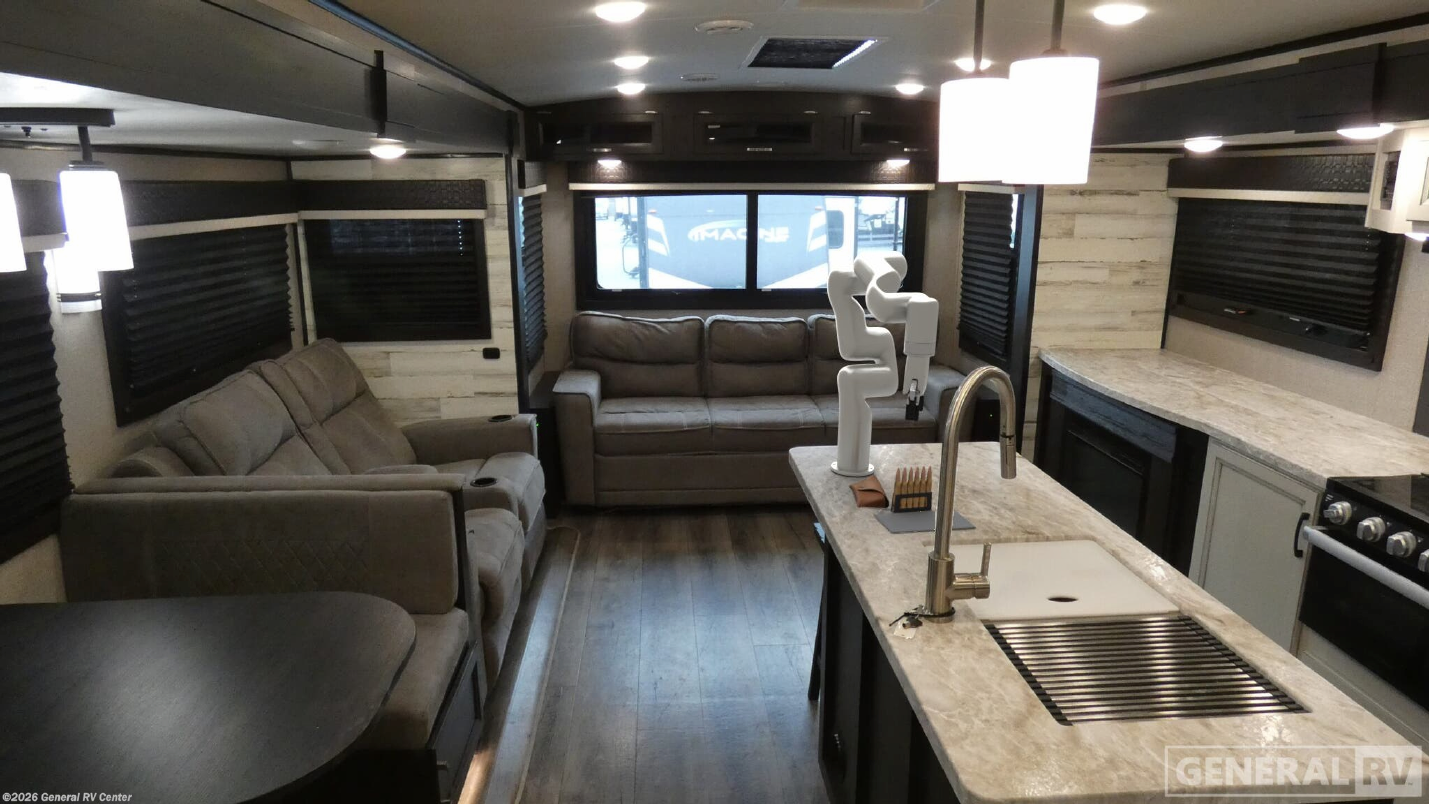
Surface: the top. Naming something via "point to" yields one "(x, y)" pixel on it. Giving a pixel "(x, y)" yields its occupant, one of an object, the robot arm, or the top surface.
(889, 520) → the rubber mat
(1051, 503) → the top surface
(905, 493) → the ammunition clip
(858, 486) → the sunglasses case
